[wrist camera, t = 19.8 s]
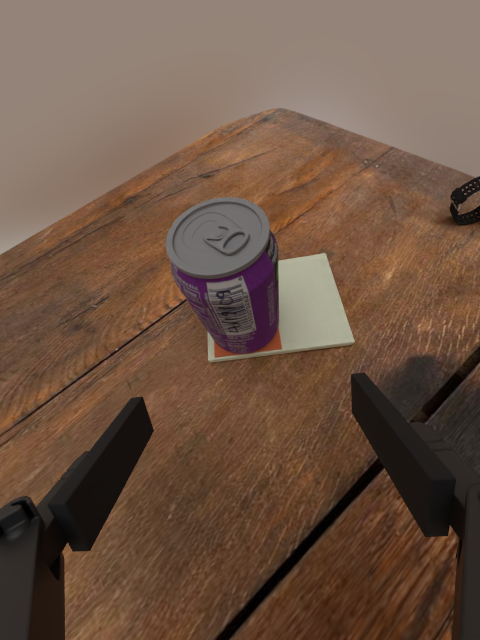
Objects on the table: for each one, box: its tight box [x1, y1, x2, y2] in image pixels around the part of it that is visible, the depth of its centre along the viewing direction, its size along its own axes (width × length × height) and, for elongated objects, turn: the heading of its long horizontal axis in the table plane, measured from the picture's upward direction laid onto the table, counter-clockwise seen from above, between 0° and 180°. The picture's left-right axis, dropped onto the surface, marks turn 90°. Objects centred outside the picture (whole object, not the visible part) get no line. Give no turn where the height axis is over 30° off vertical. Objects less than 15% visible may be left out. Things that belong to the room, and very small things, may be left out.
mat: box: [208, 253, 355, 363], centre depth 25 cm, size 14×11×1 cm
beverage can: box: [166, 197, 279, 354], centre depth 19 cm, size 7×7×12 cm
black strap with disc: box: [450, 176, 480, 225], centre depth 25 cm, size 4×5×5 cm
